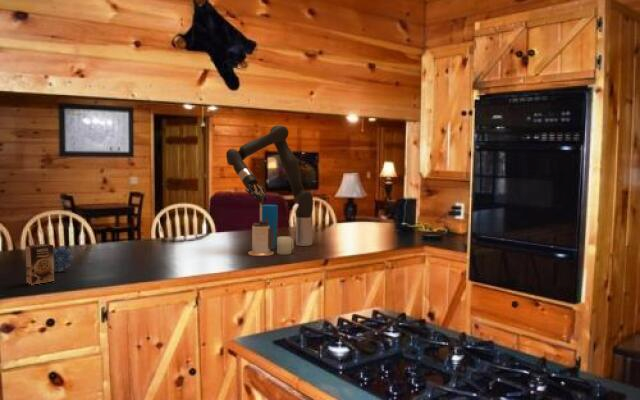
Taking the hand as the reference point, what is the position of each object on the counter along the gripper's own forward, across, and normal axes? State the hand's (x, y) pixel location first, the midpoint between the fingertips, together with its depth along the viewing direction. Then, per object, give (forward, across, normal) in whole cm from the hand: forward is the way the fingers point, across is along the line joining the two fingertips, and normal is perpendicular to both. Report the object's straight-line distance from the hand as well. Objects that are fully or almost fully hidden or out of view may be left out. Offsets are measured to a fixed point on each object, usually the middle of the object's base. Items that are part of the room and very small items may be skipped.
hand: (263, 200), depth 297 cm
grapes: (-9, -92, +52) cm, 106 cm away
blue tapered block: (+12, +19, +30) cm, 38 cm away
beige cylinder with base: (+20, 0, +22) cm, 30 cm away
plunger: (+11, 0, +14) cm, 18 cm away
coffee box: (+1, -108, +41) cm, 116 cm away
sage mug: (+26, +10, +16) cm, 32 cm away
